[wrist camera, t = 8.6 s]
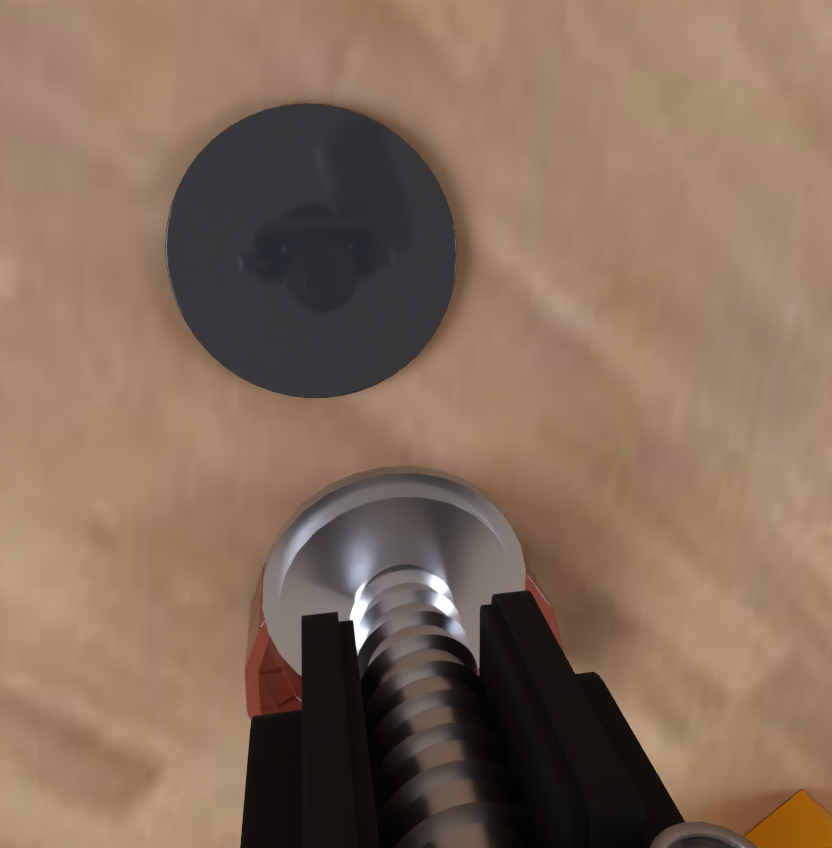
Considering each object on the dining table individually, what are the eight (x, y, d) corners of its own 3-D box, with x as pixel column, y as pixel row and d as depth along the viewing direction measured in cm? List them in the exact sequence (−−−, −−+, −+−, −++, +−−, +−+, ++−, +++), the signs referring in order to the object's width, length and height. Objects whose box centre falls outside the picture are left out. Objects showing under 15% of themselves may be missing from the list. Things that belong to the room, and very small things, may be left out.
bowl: (208, 539, 34) (193, 605, 29) (489, 445, 35) (523, 493, 30) (307, 752, 39) (309, 840, 34) (550, 667, 40) (587, 741, 35)
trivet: (118, 156, 28) (113, 156, 27) (409, 66, 29) (412, 64, 28) (232, 427, 32) (231, 434, 32) (482, 345, 33) (487, 350, 32)
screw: (541, 534, 16) (377, 672, 16) (392, 381, 14) (215, 542, 14) (1376, 1818, 4) (613, 2176, 4) (1033, 1869, 2) (-193, 2471, 2)
